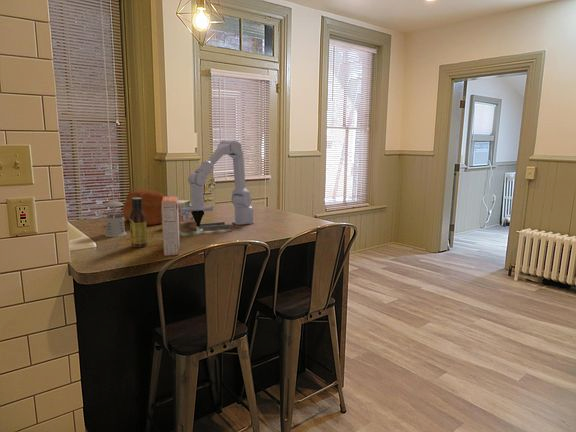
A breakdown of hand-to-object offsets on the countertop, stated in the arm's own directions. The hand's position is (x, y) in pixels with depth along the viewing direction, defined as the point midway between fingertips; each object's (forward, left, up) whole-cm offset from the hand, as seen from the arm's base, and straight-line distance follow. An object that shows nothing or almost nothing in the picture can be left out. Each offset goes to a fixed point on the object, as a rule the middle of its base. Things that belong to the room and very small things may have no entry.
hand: (197, 226), depth 196 cm
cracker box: (+19, +30, -3) cm, 36 cm away
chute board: (-3, 0, -2) cm, 3 cm away
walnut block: (+5, 0, -2) cm, 5 cm away
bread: (+17, -33, -3) cm, 37 cm away
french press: (+35, -10, -3) cm, 37 cm away
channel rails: (-8, 0, -2) cm, 8 cm away
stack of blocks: (+1, -21, -3) cm, 21 cm away
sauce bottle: (+29, +17, -3) cm, 34 cm away
